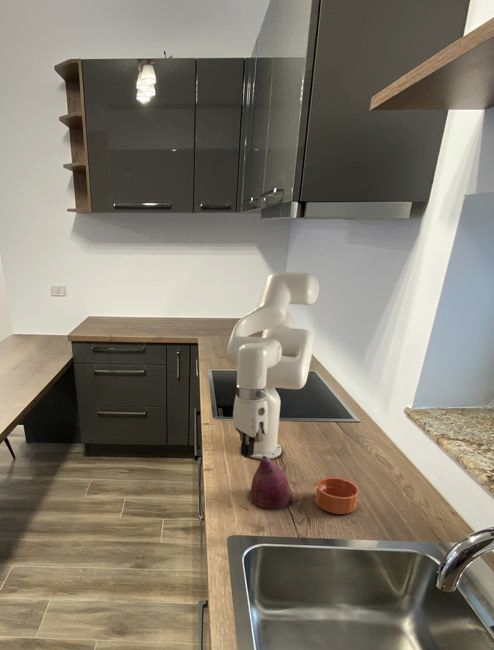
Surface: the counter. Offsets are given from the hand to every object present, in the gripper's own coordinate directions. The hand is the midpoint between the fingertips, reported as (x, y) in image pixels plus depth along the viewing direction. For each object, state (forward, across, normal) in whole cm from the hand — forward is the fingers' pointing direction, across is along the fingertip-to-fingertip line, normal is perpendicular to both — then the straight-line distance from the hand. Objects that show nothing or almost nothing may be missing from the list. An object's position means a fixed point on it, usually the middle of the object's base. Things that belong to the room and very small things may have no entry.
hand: (247, 454), depth 122 cm
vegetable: (+9, -10, 0) cm, 13 cm away
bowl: (+9, -21, -13) cm, 26 cm away
